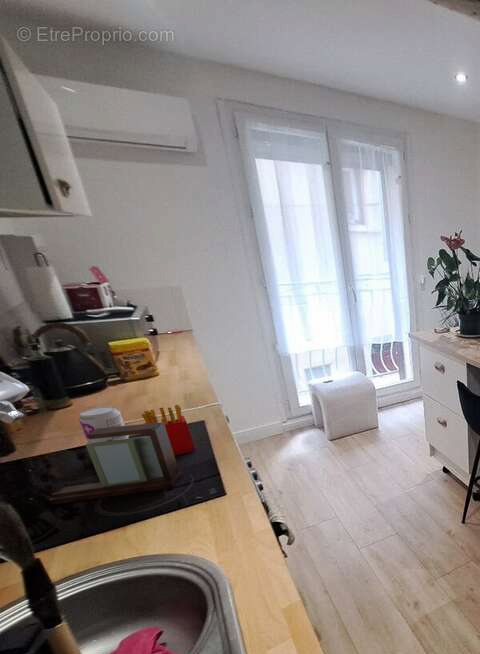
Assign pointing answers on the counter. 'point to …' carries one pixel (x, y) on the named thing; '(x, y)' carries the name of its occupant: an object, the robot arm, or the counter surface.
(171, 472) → the window frame
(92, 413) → the supplement can
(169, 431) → the french fries container
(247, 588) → the counter surface
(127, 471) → the sliding pane
